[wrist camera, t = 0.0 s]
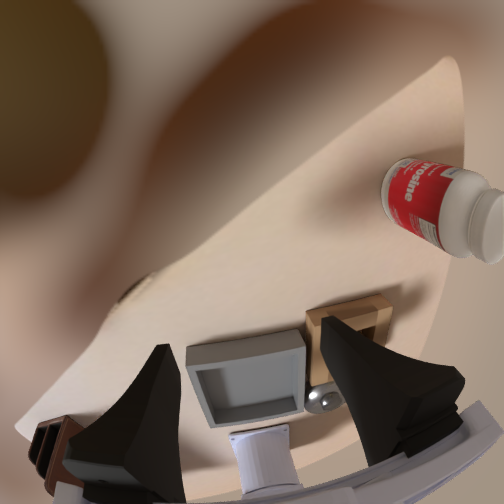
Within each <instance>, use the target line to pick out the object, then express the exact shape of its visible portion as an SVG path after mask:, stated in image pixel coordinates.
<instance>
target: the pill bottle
mask: <svg viewBox="0 0 504 504" xmlns="http://www.w3.org/2000/svg"><path fill="white" fill-rule="evenodd" d="M381 199H382V205H383V208H384V211H385V213H386V214H387V216H388V217H389V218H390V220H392V221H393V222H394V223H396V224H397V225H399V226H401V227H403V228H405V229H406V230H408V231H410V232H412V233H414V234H416V235H417V236H419V237H421V238H423V239H425V240H426V241H428V242H430V243H432V244H433V245H435V246H437V247H439V248H440V249H442V250H444V251H445V252H447V253H449V254H450V255H452V256H454V257H458V258H466V257H470V256H472V255H474V256H475V257H476V258H478V259H480V260H482V261H484V262H486V263H487V264H491V265H492V264H495V263H497V262H499V261H500V260H501V259H502V258H503V256H504V192H503V191H501V190H498V189H491V186H490V185H489V183H488V182H487V180H486V179H485V178H484V177H483V176H481V175H480V174H478V173H476V172H473V171H469V170H465V169H461V168H457V167H453V166H448V165H444V164H439V163H434V162H429V161H423V160H418V159H411V158H407V159H402V160H400V161H398V162H396V163H395V164H394V165H393V166H392V167H391V168H390V169H389V170H388V172H387V174H386V175H385V177H384V180H383V183H382V189H381Z"/></svg>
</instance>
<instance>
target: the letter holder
mask: <svg viewBox="0 0 504 504" xmlns="http://www.w3.org/2000/svg"><path fill="white" fill-rule="evenodd" d="M84 429H85V428H83V427H82V426H80V425H79V424H78V423H76V422H75V421H74V420H72V419H71V418H70V417H69V416H67V415H66V416H62V417H58V418H55V419H52V420H48V421H45V422H42V423H39V424H38V426H37V428H36V431H35V434H34V437H33V440H32V443H31V446H30V449H29V452H28V457H29V460H30V461H31V462H32V463H33V464H34V465H35V467H36V471H37V473H38V474H39V475H40V476H41V477H42V478H43V479H44V480H45V482H44V486H45V489H46V491H47V492H48V493H49V494H50V495H51V496H53V497H54V493H55V488H56V483H57V482H58V481H59V482H63V483H67V484H71V485H75V486H78V487H81V488H83V489H84V483H83V482H82V481H80V480H79V479H78V478H76V477H75V476H74V475H73V474H71V473H70V472H69V471H68V470H67V469H66V468H65V467H64V465H63V464H62V461H63V457H64V453H65V449H66V445H67V442H68V439H69V438H71V437H73V436H74V435H76V434H78V433H79V432H81V431H82V430H84Z"/></svg>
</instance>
